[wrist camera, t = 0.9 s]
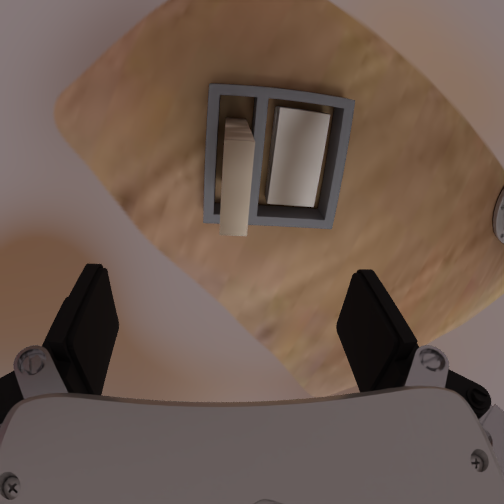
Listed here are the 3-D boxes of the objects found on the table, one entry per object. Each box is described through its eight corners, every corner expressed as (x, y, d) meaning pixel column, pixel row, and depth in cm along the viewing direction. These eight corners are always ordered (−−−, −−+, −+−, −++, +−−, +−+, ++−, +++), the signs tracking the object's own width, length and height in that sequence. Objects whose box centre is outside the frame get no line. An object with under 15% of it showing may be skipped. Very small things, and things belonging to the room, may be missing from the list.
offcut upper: (325, 113, 29) (330, 114, 28) (310, 201, 35) (313, 207, 33) (277, 106, 29) (280, 107, 27) (265, 198, 34) (267, 203, 33)
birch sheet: (245, 118, 30) (255, 141, 20) (240, 182, 34) (246, 236, 23) (225, 117, 30) (224, 139, 20) (221, 181, 33) (219, 235, 23)
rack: (344, 97, 29) (355, 100, 27) (324, 217, 36) (331, 229, 34) (211, 83, 28) (209, 83, 25) (205, 211, 35) (203, 223, 32)
